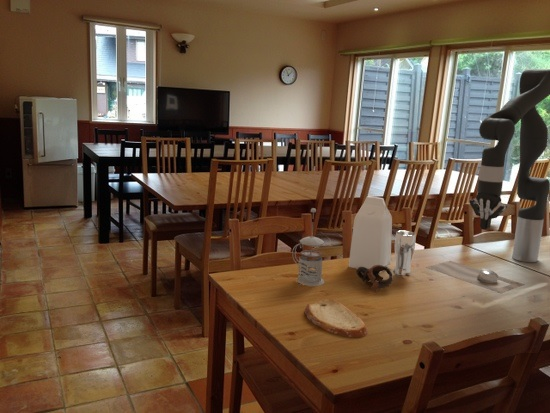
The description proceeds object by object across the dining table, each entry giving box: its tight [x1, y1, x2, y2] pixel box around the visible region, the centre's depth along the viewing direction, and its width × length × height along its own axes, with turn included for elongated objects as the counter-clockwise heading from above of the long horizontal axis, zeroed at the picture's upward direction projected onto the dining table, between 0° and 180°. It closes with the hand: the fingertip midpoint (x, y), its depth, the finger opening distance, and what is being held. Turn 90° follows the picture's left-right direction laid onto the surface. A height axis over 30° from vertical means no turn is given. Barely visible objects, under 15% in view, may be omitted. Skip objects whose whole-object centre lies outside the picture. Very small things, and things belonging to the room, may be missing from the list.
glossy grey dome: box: [477, 268, 499, 284], centre depth 168 cm, size 6×6×3 cm
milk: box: [348, 195, 393, 275], centre depth 180 cm, size 12×12×26 cm
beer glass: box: [393, 230, 417, 277], centre depth 174 cm, size 7×7×15 cm
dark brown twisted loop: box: [356, 265, 394, 292], centre depth 162 cm, size 12×10×8 cm
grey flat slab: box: [425, 260, 525, 294], centre depth 173 cm, size 15×29×1 cm, turn 36°
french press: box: [291, 207, 325, 287], centre depth 163 cm, size 10×12×25 cm
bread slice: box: [304, 298, 369, 338], centre depth 135 cm, size 18×18×4 cm
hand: (484, 229), depth 168 cm, fingers closed
